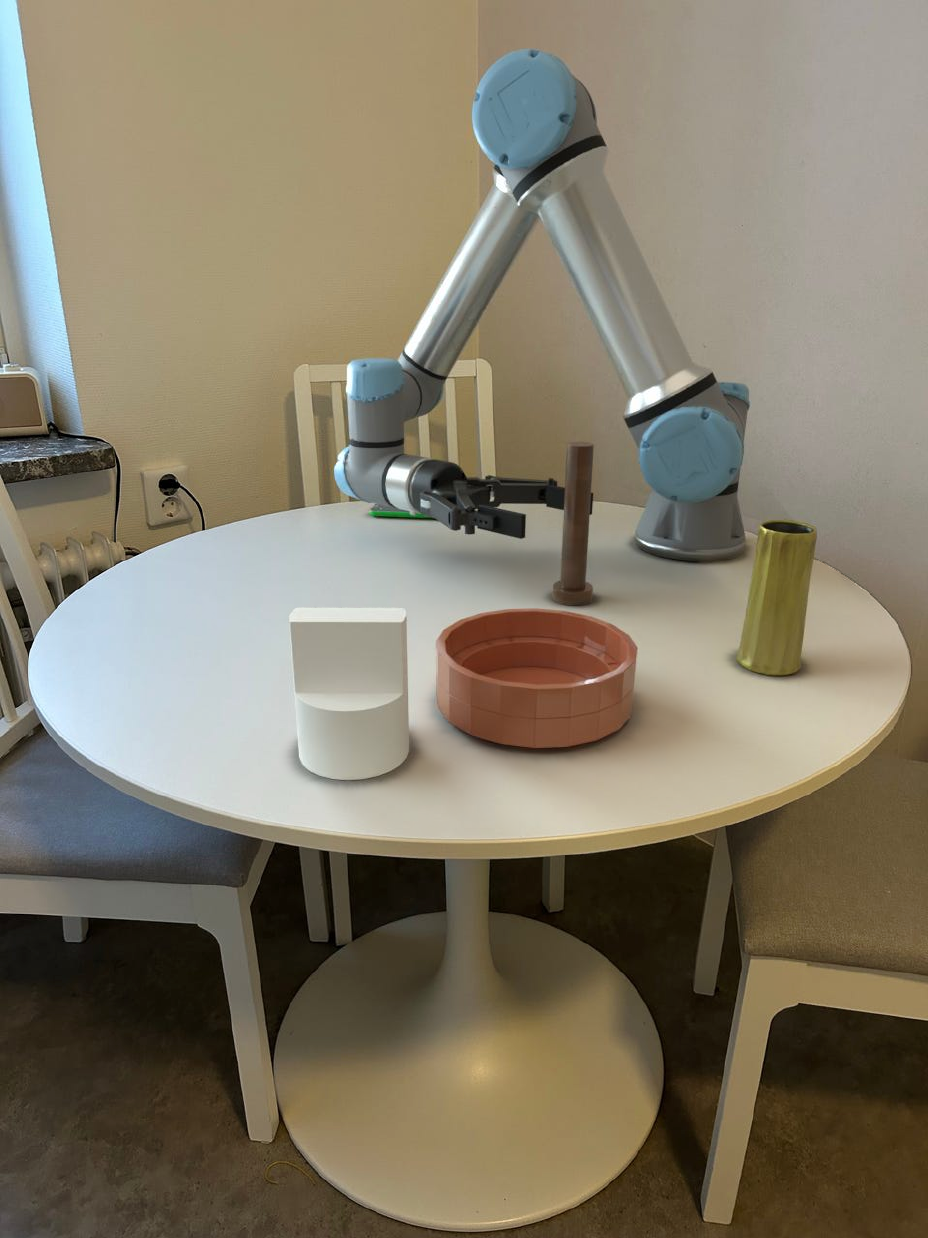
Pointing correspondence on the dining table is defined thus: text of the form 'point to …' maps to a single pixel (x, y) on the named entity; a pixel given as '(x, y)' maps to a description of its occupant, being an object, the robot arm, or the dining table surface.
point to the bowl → (535, 677)
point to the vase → (778, 598)
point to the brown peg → (575, 527)
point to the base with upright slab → (350, 690)
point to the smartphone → (392, 512)
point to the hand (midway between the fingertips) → (559, 514)
